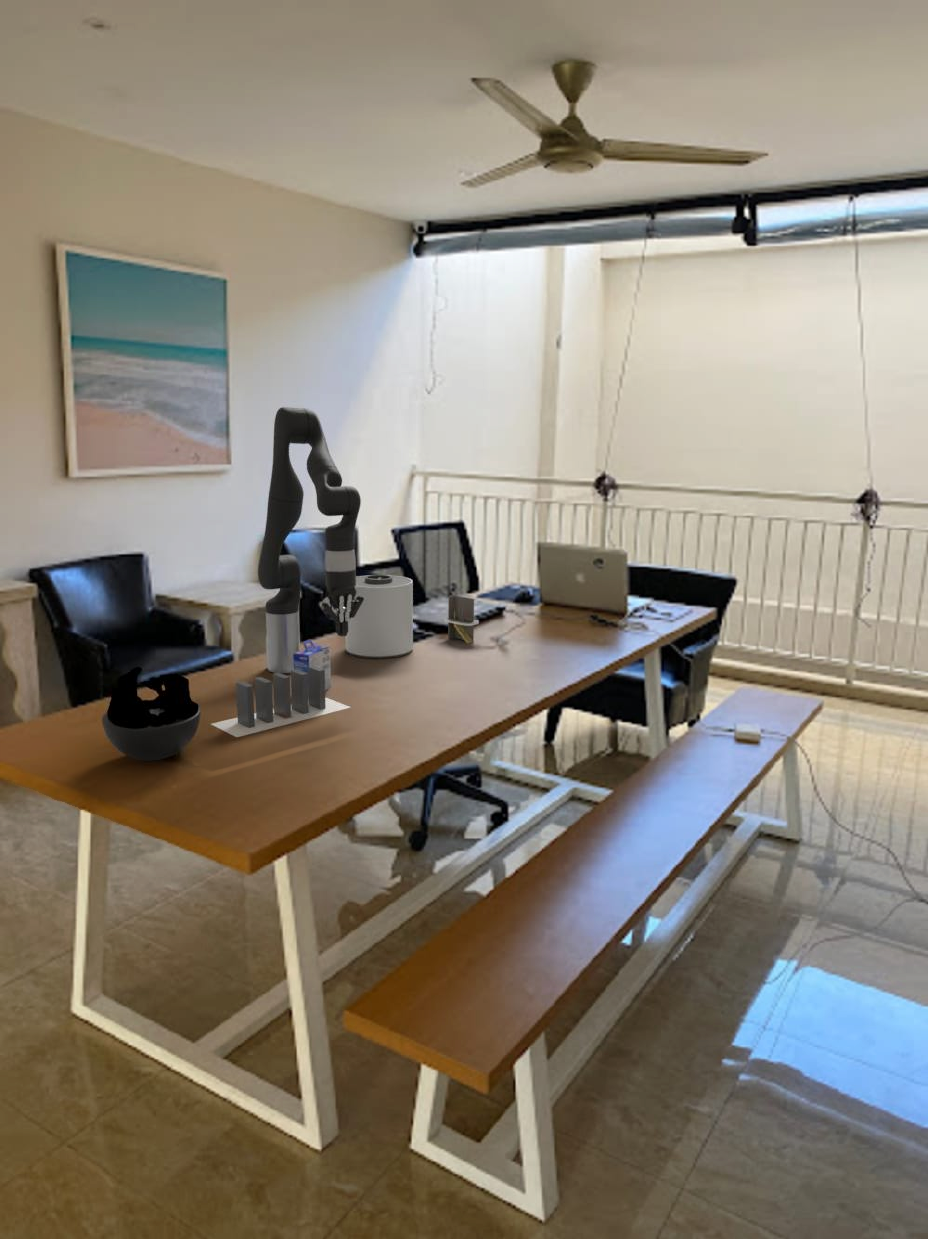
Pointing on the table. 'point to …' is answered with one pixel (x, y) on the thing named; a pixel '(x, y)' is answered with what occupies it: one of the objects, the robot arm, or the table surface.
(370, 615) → the humidifier
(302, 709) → the domino
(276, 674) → the domino
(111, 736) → the coal bowl
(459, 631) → the architectural model
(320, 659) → the ink cartridge box
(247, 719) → the domino
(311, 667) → the domino
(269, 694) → the domino
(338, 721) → the table surface
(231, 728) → the board
